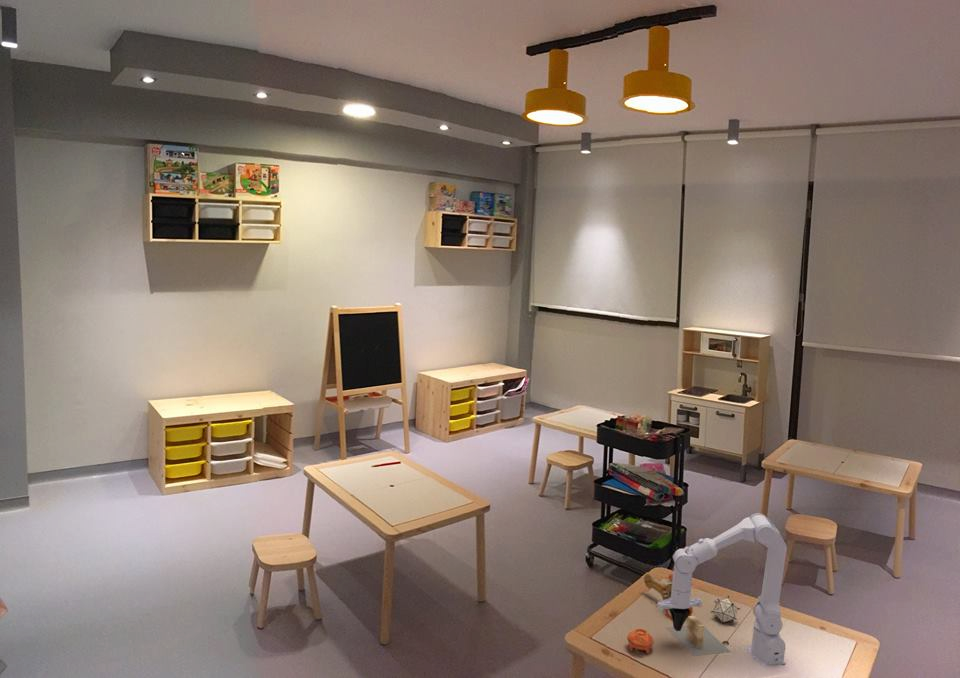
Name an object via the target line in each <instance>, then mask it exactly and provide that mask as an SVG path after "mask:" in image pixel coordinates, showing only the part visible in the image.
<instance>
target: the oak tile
mask: <svg viewBox="0 0 960 678" xmlns="http://www.w3.org/2000/svg"><path fill="white" fill-rule="evenodd" d="M686 626H687V633H686V637H687V638H688V639H689V640H690V641H691V642H692V643H693V644H694V645H695V646H696V647H702V645H703V635H704V627H705V625H704V624H703V623H702V622H701V621H700V620H699V619H698V618H697V617H696V616H695V615H690V616H688V617H687V624H686Z"/></svg>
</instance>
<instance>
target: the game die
mask: <svg viewBox="0 0 960 678" xmlns="http://www.w3.org/2000/svg"><path fill="white" fill-rule="evenodd" d="M714 603H715V605H714V607H713V610H711V611H710V613H713V614H714V615H715V616H716V617H717V618H718V619H719V620H720V621H721V623H722V625H724V623H728V622H730V621H731V622H732V621H733V622H734V620H735V621H737V613H738V611H740V610H741V608H740V607H737V606H736V605H735V604H734V603H735V602H734V603H733V602H732V600H731V599H730V595H728V596H727V598H722V599H719V598H717V600H714Z"/></svg>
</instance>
